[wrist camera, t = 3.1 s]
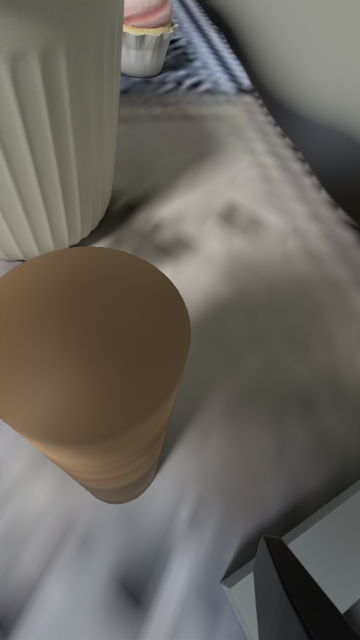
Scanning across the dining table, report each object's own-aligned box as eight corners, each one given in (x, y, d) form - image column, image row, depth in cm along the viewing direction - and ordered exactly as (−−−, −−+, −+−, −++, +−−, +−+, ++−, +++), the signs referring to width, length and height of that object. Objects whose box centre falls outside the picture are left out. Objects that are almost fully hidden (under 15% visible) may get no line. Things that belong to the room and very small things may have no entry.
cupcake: (187, 78, 43) (199, -31, 35) (121, 89, 40) (116, -29, 32) (152, 48, 47) (155, -57, 39) (89, 56, 44) (78, -57, 35)
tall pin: (170, 478, 18) (230, 372, 6) (98, 520, 16) (-6, 488, 5) (138, 411, 19) (136, 226, 8) (70, 444, 18) (-56, 282, 6)
